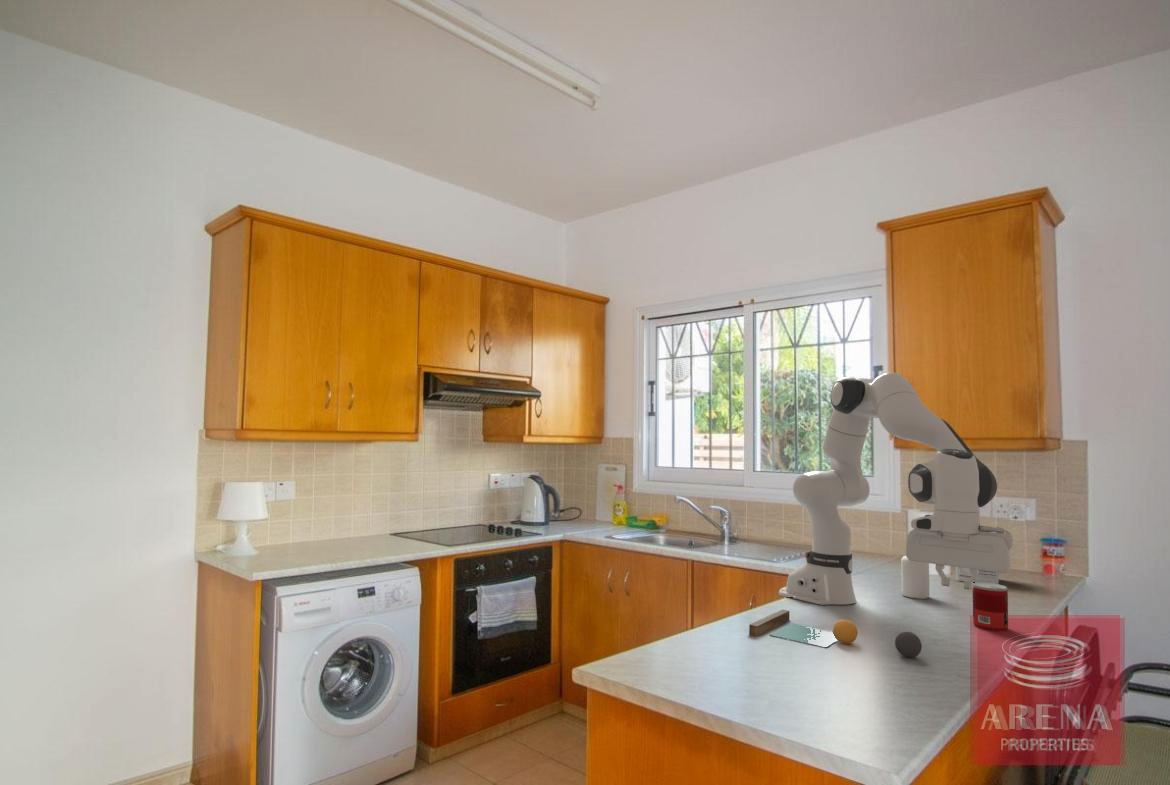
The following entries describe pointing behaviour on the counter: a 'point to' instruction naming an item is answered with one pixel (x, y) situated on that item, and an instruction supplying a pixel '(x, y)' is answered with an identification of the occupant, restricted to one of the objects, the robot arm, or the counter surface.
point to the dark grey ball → (908, 644)
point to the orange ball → (845, 631)
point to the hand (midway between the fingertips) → (957, 587)
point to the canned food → (990, 606)
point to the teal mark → (795, 633)
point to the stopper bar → (768, 623)
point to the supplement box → (981, 577)
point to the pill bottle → (914, 579)
